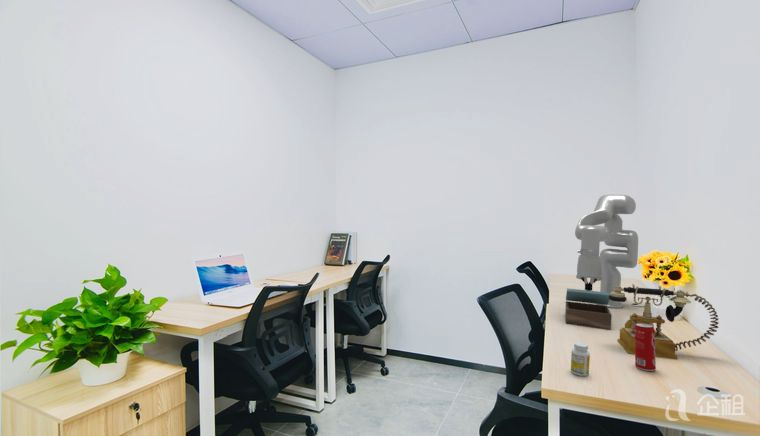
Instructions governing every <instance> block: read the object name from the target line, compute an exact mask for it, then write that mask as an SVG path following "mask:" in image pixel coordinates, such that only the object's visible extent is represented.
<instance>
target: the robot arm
mask: <svg viewBox="0 0 760 436" xmlns="http://www.w3.org/2000/svg"><path fill="white" fill-rule="evenodd" d="M636 203H637V202H636V201H635V200H634V198H633V197H631V196H630V195H626V194H605V195H601V196H600V197H599V198H598V201H597V203H596V205H595V208H594V209H593V211H591V212H589V213H588V214H586V215H583V216H582V217H581V218H580V219H579V220H578V223H577V225H576V227H575V231H574V235H575V238H576V239H577V240H580V243H581V244H580V249H577V252H576V253H578V254H579V256H578V258H577V264H576V265H577V266H576V276H575V277H576V279H578V280H581V281H582V282H583V283H584V290H588V291H593V285H594V283H596V282H600V287H599V289H600V291H599V292H607V293H611V292H615V290H614V289H615V286H621V284H622V282H621V281H622V275H621V272H620V271H619V269H618V268H626V269H634V268H636V267H637V264H638V261H639V260H638V259H639V258H638V257H639V236H638V232H636V231H634V230H629V229H623V219H622V217H621V216H620V215H632V214H634V213H635V211H636V209H637V207H636V206H637V204H636ZM602 225H603V226H602ZM600 242H604V245H606V246H608V247H613V248H604V249H602V250H601V251H600V246H601V243H600ZM614 247H616V248H614ZM618 248H619V249H618ZM620 248H626V249H620ZM588 278H589V279H590V281H588ZM621 287H622V286H621ZM597 305H602V304H597ZM604 306H607V307H608V308H611V309H621V308H624V305H623V304H622V302H617V301H612V300H609V302H608V304H607V305H604Z"/></svg>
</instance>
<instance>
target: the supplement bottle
mask: <svg viewBox="0 0 760 436" xmlns="http://www.w3.org/2000/svg"><path fill="white" fill-rule="evenodd" d="M573 347H574V348H572V349H571V358H570V372H571V373H572V374H574V375H577V376H580V377H585V376H586V377H587V376H589V374H590V373H589V372H590V358H591V354H590V352H589V345H588V344H587V343H584V342H579V341H576V342H574V344H573Z"/></svg>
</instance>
